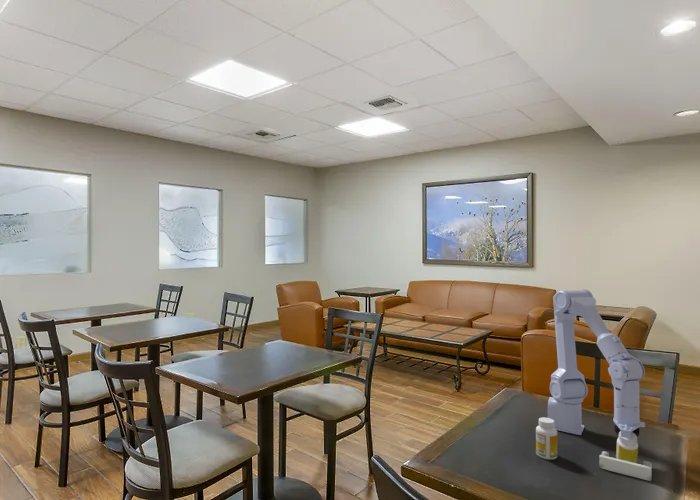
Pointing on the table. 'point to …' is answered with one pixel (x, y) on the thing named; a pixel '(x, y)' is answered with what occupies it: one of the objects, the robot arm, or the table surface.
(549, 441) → the supplement bottle
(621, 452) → the supplement bottle
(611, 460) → the drawer handle
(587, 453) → the table surface
